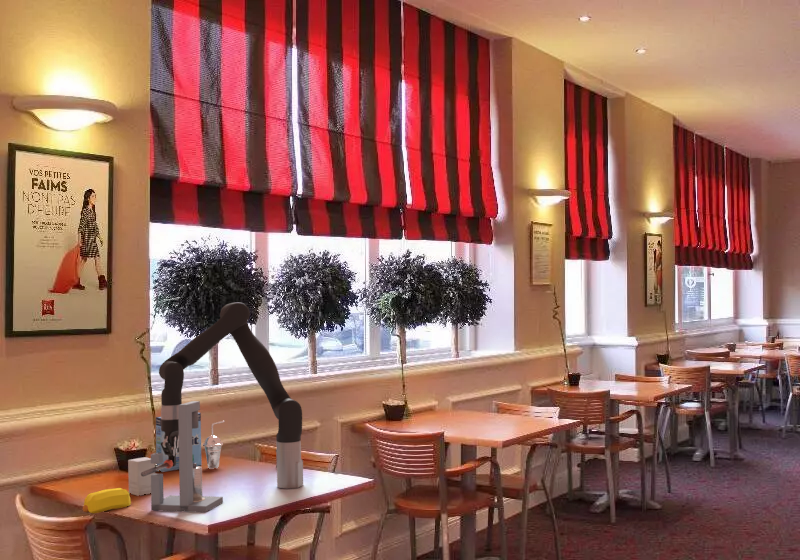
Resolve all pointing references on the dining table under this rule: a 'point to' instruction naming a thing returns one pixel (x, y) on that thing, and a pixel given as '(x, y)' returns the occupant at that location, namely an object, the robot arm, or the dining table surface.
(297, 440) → the robot arm
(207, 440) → the cup with straw
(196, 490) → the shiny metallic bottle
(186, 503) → the press
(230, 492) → the dining table surface
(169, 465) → the lever
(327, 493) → the dining table surface
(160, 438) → the blue cereal box
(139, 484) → the supplement box
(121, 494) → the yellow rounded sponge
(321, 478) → the dining table surface
